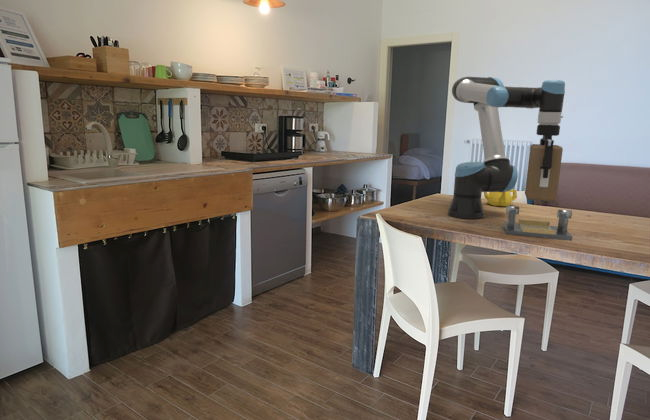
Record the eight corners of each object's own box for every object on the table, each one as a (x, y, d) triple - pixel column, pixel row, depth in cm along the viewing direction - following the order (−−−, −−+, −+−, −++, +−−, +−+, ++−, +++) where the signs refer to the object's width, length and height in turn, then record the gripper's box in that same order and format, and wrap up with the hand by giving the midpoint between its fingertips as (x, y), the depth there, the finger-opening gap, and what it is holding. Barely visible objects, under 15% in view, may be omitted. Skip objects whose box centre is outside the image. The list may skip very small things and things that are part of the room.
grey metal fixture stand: (505, 234, 171) (508, 209, 169) (503, 225, 185) (505, 202, 183) (572, 240, 164) (575, 214, 162) (564, 230, 178) (567, 206, 176)
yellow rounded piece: (478, 204, 230) (480, 184, 228) (494, 201, 238) (496, 182, 236) (503, 208, 219) (505, 188, 217) (519, 206, 227) (521, 186, 225)
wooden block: (552, 197, 175) (559, 145, 171) (556, 202, 166) (563, 146, 162) (524, 195, 178) (530, 143, 174) (526, 199, 169) (532, 145, 165)
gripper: (566, 125, 155) (557, 189, 159) (554, 124, 176) (547, 181, 180) (541, 124, 157) (534, 188, 161) (533, 123, 178) (527, 180, 182)
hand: (541, 184), depth 171 cm, fingers closed on wooden block, 10 cm apart
